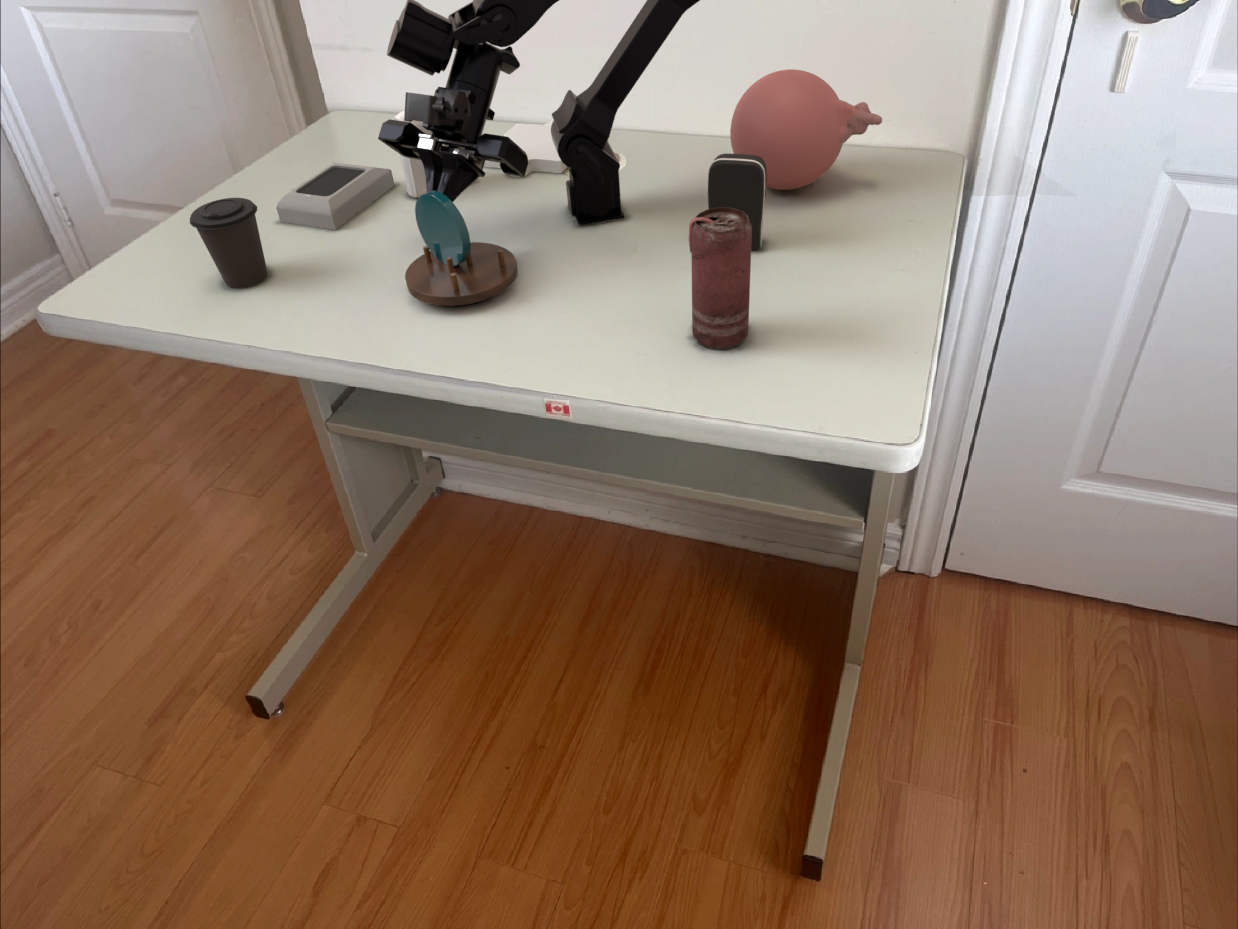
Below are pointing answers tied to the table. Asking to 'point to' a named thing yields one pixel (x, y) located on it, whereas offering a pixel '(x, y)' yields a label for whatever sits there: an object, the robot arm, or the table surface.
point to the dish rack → (455, 258)
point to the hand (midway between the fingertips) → (433, 215)
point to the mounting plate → (535, 148)
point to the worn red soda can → (720, 277)
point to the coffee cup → (232, 240)
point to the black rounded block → (739, 188)
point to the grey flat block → (334, 195)
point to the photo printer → (414, 165)
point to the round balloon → (795, 126)
